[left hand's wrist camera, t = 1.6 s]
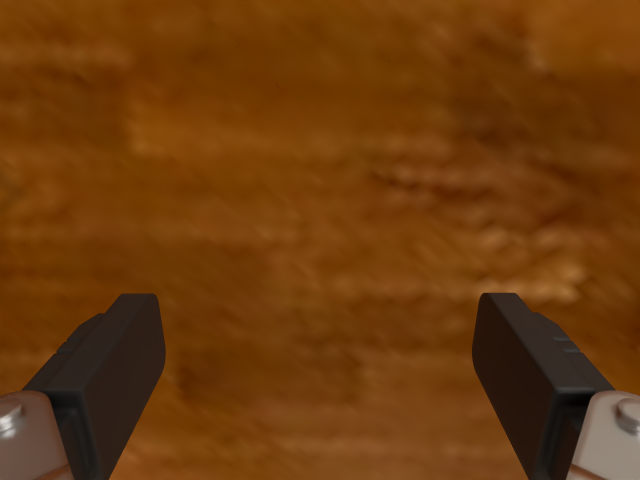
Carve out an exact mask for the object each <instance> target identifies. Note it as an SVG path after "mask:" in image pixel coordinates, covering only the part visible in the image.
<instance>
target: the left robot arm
mask: <svg viewBox="0 0 640 480" xmlns="http://www.w3.org/2000/svg"><path fill="white" fill-rule="evenodd" d="M165 354H166V351H165V342H164V335H163V329H162V322H161V315H160V309H159V303H158V299H157V297H156V295H155V294H121V295H120V296H119V297H118V298H117V300H116V301H115V302H114V303H113V304H112V306H111V307H110V308H109V309H108V310H107V312H106V313H105V314H97V315H96V316H94V317H92V318H91V319H89V320H88V321H86V322H84V323H83V324H81V325H80V326H79V327H78V328H77V329H76V330H75V331H74V332H73V333H72V334H71V336H70V337H69V338H68V339H67V342H64V343H63V345H62V346H61V347H60V348H59V349H58V350H57V354H54V355H53V356H52V357H51V358H50V359H49V360H48V361H47V362H46V364H45V365H44V366H43V367H42V368H41V369H40V370H39V371H38V372H37V374H36V375H35V376H34V377H33V378H32V379H31V380H30V381H29V382H28V384H27V385H26V386H25V387H24V388H23V389H22V390H21V391H17V392H12V393H8V394H5V395H2V396H0V480H109V478H110V476H111V474H112V472H113V470H114V468H115V466H116V464H117V462H118V460H119V458H120V456H121V454H122V452H123V450H124V448H125V446H126V444H127V442H128V440H129V438H130V436H131V434H132V432H133V430H134V428H135V426H136V424H137V422H138V420H139V418H140V416H141V414H142V412H143V410H144V408H145V406H146V404H147V402H148V400H149V398H150V396H151V394H152V392H153V390H154V388H155V386H156V384H157V382H158V380H159V378H160V376H161V374H162V371H163V368H164V364H165ZM472 358H473V365H474V368H475V371H476V374H477V376H478V378H479V380H480V382H481V384H482V386H483V388H484V390H485V392H486V394H487V396H488V398H489V400H490V402H491V404H492V406H493V408H494V410H495V412H496V414H497V416H498V418H499V420H500V422H501V424H502V426H503V428H504V430H505V432H506V434H507V436H508V438H509V440H510V442H511V444H512V446H513V448H514V450H515V452H516V455H517V457H518V459H519V461H520V463H521V465H522V467H523V469H524V471H525V473H526V475H527V477H528V479H529V480H640V396H638V395H635V394H632V393H628V392H623V391H616V390H615V389H614V388H613V387H612V385H611V384H610V383H609V382H608V381H607V380H606V379H605V378H604V376H603V375H602V374H601V373H600V372H599V371H598V370H597V369H596V367H595V366H594V365H593V364H592V363H591V362H590V361H589V360H588V358H587V357H586V356H585V355H584V354H583V353H580V349H579V348H578V347H577V346H576V345H575V344H574V343H573V341H570V338H569V337H568V336H567V335H566V334H565V332H564V331H563V330H562V329H561V328H560V327H559V326H558V325H557V324H556V323H554V322H553V321H551V320H549V319H548V318H546V317H544V316H543V315H541V314H540V313H532V312H531V311H530V309H529V308H528V307H527V306H526V305H525V303H524V302H523V301H522V300H521V299H520V297H519V296H518V295H517V294H516V293H483V294H482V295H481V297H480V300H479V305H478V312H477V319H476V325H475V332H474V339H473V346H472Z"/></svg>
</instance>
